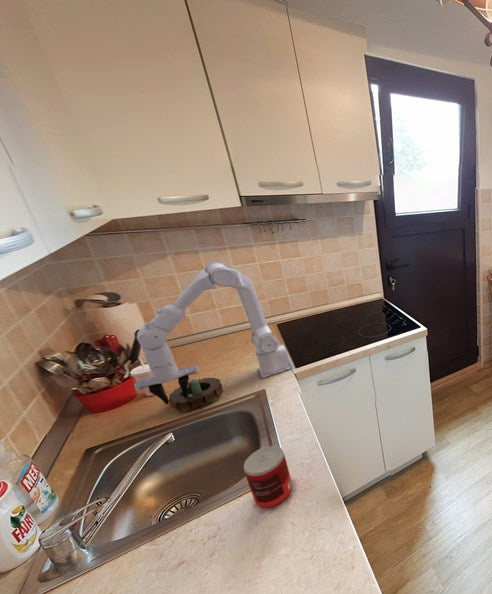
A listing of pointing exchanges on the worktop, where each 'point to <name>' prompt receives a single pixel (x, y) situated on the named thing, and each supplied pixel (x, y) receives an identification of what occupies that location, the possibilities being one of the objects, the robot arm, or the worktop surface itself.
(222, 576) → the worktop surface
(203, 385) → the walnut ring
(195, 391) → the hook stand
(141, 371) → the smoothie
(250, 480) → the canned food
